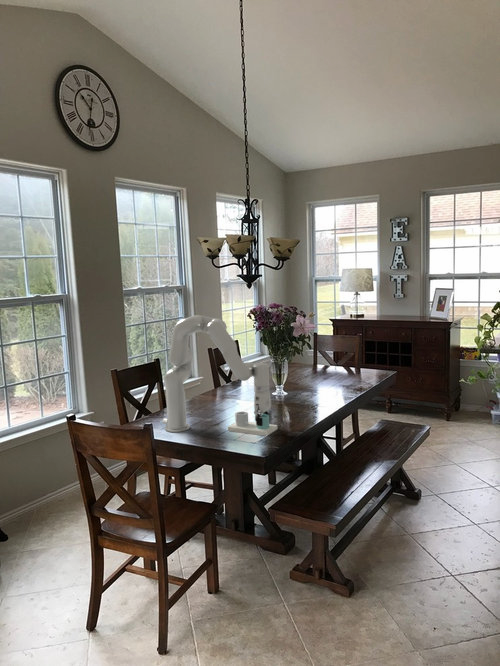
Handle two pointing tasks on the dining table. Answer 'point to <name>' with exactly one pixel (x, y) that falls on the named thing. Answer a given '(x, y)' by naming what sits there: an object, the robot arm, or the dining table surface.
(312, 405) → the dining table surface
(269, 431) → the pin board
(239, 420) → the sleeve grey
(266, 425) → the sleeve teal
